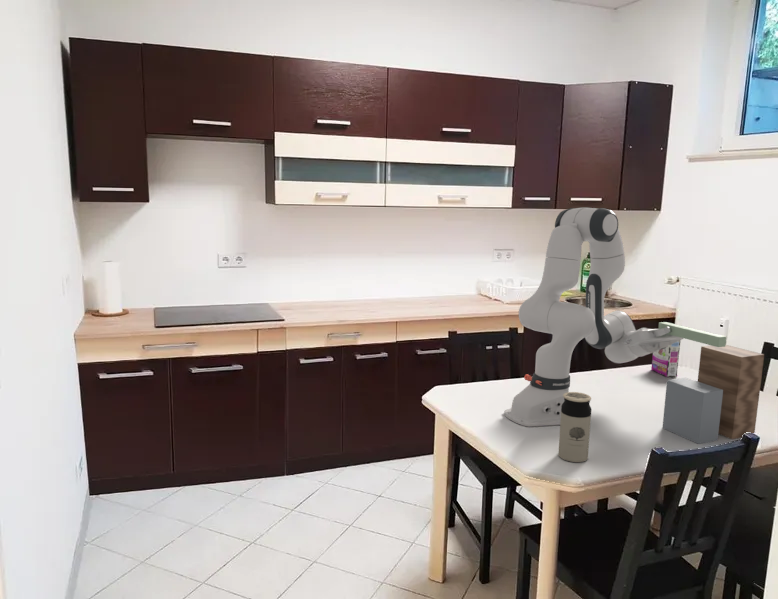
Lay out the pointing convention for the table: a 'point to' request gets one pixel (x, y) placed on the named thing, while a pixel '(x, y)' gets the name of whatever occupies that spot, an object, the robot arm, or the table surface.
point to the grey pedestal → (692, 410)
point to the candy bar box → (666, 360)
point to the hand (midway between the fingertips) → (675, 328)
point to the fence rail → (695, 334)
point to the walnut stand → (733, 385)
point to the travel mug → (575, 427)
